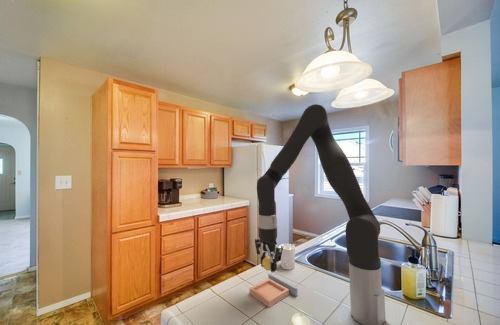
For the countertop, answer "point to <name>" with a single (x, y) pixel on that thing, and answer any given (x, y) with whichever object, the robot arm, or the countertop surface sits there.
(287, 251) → the white cup
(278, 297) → the pink square tray
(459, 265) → the countertop surface
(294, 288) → the fence
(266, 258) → the ball
